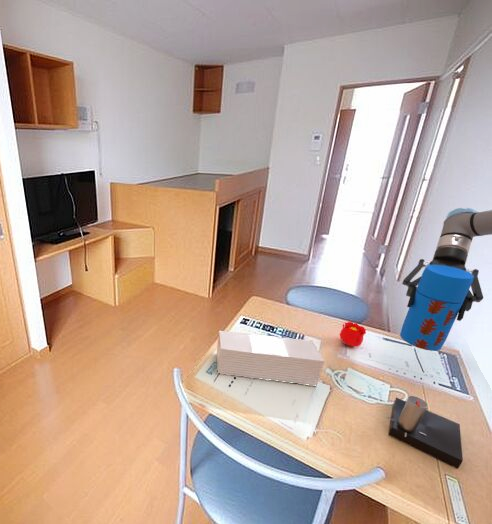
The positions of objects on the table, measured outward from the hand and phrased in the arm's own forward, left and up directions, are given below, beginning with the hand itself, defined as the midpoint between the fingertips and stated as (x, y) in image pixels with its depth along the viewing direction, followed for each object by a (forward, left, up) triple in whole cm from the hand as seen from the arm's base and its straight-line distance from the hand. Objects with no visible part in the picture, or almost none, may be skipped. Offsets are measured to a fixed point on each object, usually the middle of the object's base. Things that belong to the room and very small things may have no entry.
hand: (433, 312), depth 93 cm
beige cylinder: (-1, +27, -24) cm, 36 cm away
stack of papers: (+38, +28, -27) cm, 54 cm away
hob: (-5, +23, -27) cm, 35 cm away
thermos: (0, -3, -12) cm, 13 cm away
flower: (+18, -10, -27) cm, 34 cm away
